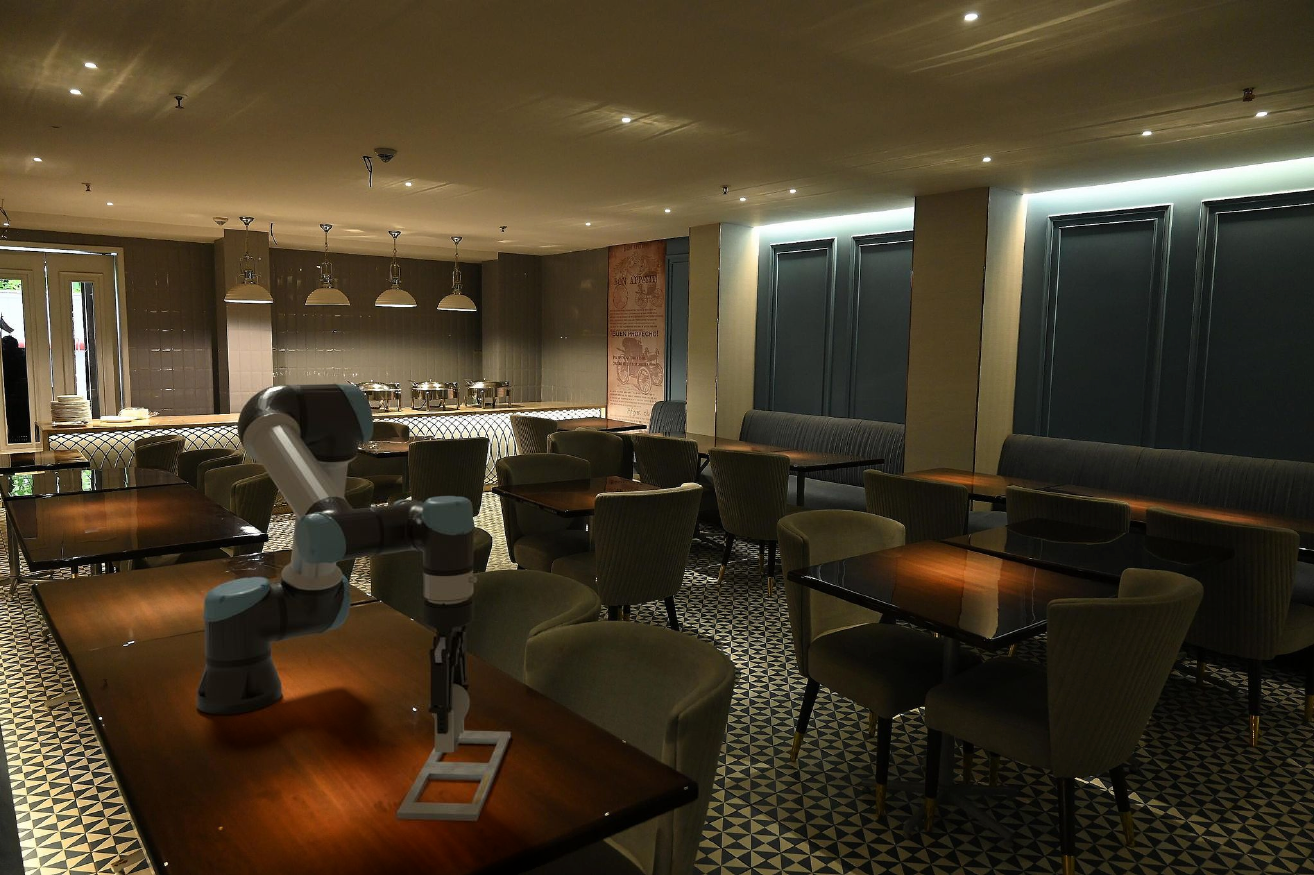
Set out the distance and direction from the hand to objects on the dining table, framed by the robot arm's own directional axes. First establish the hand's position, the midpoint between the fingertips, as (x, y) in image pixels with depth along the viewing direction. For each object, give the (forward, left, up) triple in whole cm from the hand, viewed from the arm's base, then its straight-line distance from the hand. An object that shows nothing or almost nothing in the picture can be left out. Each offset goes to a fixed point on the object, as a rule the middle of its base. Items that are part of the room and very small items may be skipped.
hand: (449, 741), depth 135 cm
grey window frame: (0, +7, -9) cm, 11 cm away
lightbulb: (0, 0, -2) cm, 2 cm away
